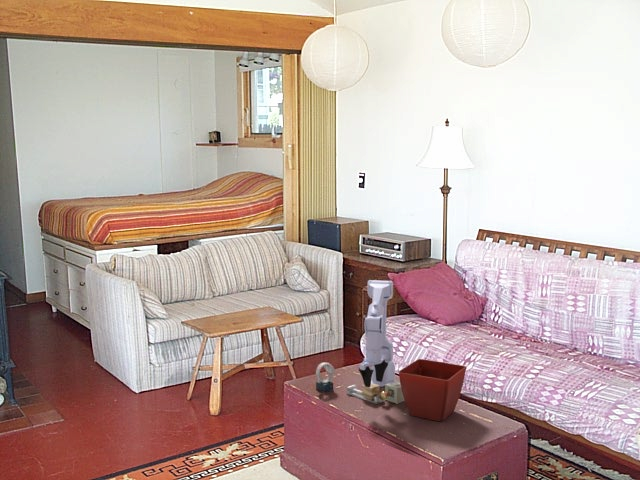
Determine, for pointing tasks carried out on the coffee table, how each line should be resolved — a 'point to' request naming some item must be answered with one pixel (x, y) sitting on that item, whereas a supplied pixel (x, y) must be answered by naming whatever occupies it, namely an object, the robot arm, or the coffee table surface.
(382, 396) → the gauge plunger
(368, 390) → the carriage
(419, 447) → the coffee table surface
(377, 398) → the rail
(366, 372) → the robot arm
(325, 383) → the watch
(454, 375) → the plant pot
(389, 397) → the cabinet
